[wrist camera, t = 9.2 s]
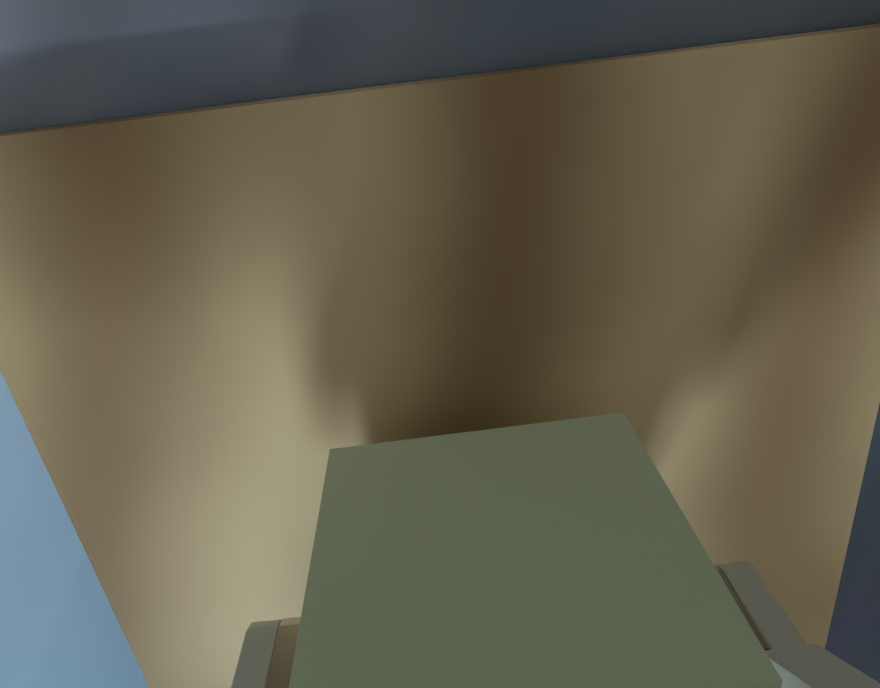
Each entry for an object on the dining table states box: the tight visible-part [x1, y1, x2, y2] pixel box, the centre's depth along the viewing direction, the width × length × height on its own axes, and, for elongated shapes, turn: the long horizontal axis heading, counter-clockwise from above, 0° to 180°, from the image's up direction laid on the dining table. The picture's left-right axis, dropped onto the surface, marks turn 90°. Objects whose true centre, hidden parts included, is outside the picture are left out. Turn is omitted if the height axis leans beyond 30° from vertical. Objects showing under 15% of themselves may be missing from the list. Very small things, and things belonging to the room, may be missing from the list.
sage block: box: [289, 413, 782, 688], centre depth 10 cm, size 5×5×5 cm
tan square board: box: [0, 23, 880, 688], centre depth 13 cm, size 16×16×1 cm
